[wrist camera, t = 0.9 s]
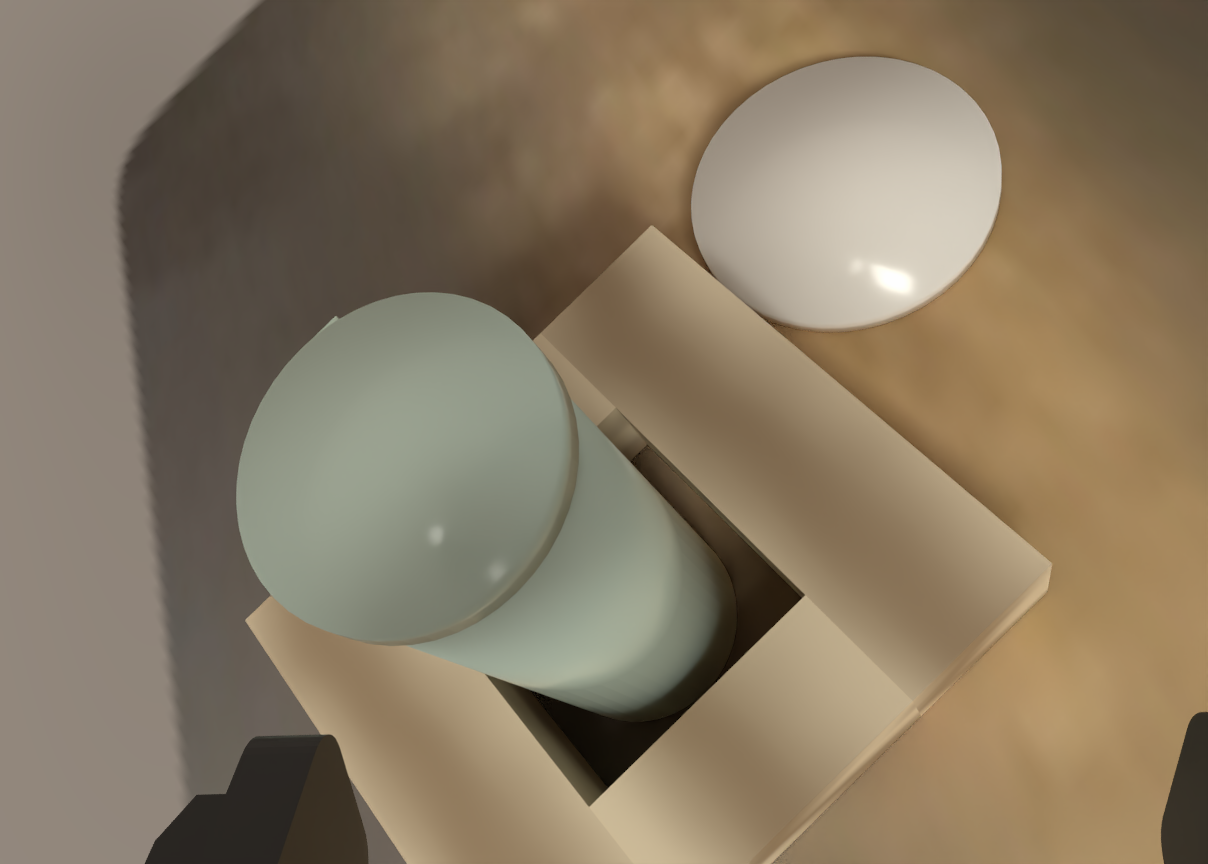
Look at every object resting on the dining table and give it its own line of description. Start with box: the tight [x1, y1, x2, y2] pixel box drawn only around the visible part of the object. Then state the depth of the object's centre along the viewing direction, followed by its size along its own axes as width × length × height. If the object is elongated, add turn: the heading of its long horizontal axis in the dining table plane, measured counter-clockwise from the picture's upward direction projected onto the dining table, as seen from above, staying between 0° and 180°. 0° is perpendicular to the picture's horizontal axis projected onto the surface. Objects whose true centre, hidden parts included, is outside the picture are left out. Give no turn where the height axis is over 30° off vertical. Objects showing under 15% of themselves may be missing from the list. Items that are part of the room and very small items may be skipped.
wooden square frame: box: [245, 225, 1052, 864], centre depth 29 cm, size 16×14×3 cm
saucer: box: [691, 57, 1002, 333], centre depth 33 cm, size 9×9×1 cm
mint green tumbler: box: [236, 292, 737, 722], centre depth 25 cm, size 6×8×14 cm
